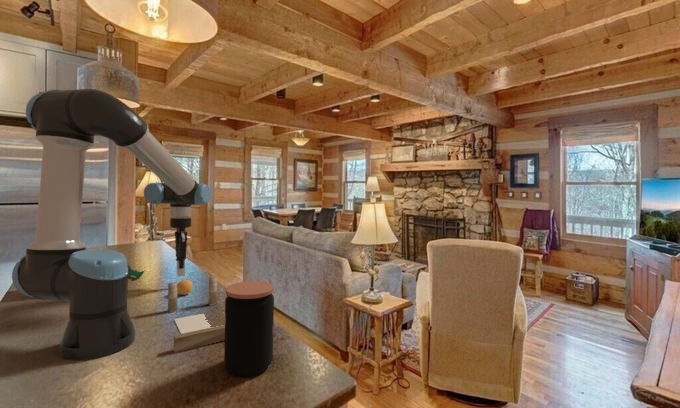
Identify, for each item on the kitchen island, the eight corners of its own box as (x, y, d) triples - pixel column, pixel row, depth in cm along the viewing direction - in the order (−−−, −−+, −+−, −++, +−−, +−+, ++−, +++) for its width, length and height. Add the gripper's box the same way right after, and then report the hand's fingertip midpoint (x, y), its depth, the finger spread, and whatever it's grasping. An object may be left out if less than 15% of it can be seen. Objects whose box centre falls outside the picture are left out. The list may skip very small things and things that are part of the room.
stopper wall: (254, 333, 90) (254, 321, 90) (174, 352, 79) (175, 338, 78) (252, 331, 92) (252, 318, 92) (173, 349, 80) (173, 335, 80)
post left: (177, 311, 105) (177, 283, 104) (168, 313, 103) (168, 285, 103) (176, 308, 107) (176, 282, 107) (167, 310, 105) (167, 283, 105)
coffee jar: (282, 365, 74) (283, 287, 74) (240, 385, 66) (241, 298, 66) (255, 349, 81) (256, 278, 81) (215, 365, 73) (216, 286, 73)
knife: (118, 274, 148) (118, 263, 148) (122, 273, 150) (122, 262, 150) (143, 281, 139) (143, 269, 138) (147, 280, 140) (147, 268, 140)
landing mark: (234, 325, 95) (234, 325, 95) (182, 337, 87) (182, 336, 87) (221, 310, 106) (221, 310, 106) (174, 319, 98) (174, 319, 98)
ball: (193, 295, 121) (194, 280, 121) (177, 297, 118) (177, 282, 118) (190, 291, 126) (191, 277, 125) (175, 293, 122) (175, 279, 122)
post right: (217, 304, 112) (218, 278, 112) (209, 305, 111) (210, 279, 110) (215, 302, 114) (216, 277, 114) (208, 303, 113) (208, 278, 112)
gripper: (194, 218, 125) (194, 278, 127) (187, 215, 136) (187, 271, 137) (172, 219, 121) (172, 281, 122) (167, 216, 132) (167, 273, 133)
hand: (180, 275), depth 130 cm, fingers closed
